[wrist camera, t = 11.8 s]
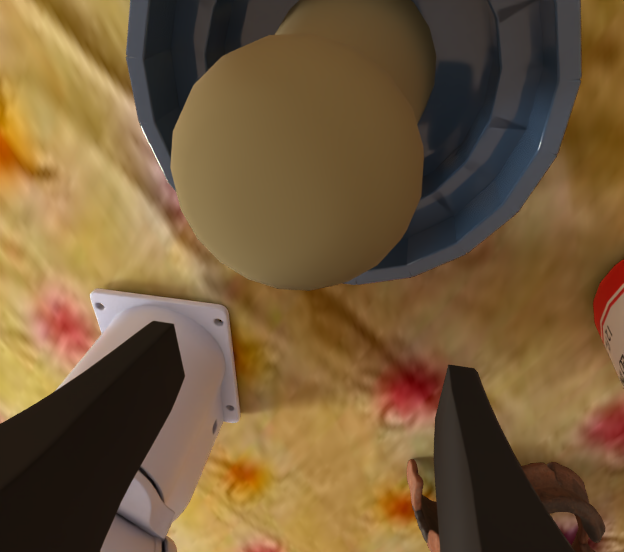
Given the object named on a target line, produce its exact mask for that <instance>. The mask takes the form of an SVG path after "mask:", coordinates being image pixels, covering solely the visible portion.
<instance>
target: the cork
mask: <svg viewBox="0 0 624 552" xmlns="http://www.w3.org/2000/svg"><path fill="white" fill-rule="evenodd" d="M435 68H436V52H435V48H434V44H433V40H432V36H431V32H430V28H429V26H428V24H427V23H426V21H425V20H424V18H423V16H422V15H421V13H420V12H419V10H418V8H417V7H416V5H415V4H414V2H412V1H411V0H299V1H298V2H297V3H296V4H295V5H294V6H293V7H292V8H291V9H290V10H289V11H288V13H287V15H286V16H285V18H284V20H283V21H282V23H281V25H280V26H279V28H278V30H277V31H276V33H275V35H268V36H266V37H264V38H261V39H259V40H257V41H254V42H252V43H250V44H248V45H245V46H243V47H241V48H239V49H236V50H234V51H232V52H230V53H228V54H226V55H224V56H222V57H221V58H220V59H219V60H218V61H217V62H216V63H215V64H214V65H213V66H212V67H211V68H210V69H209V70H208V71H207V72H206V73H205V74H204V75H203V76H202V77H201V78H200V79H199V80H198V81H197V82H196V83H195V84H194V85H193V87H192V89H191V92H190V94H189V96H188V98H187V100H186V103H185V105H184V107H183V109H182V112H181V114H180V116H179V119H178V121H177V123H176V125H175V128H174V130H173V137H172V151H171V166H170V168H171V172H172V176H173V180H174V184H175V188H176V192H177V196H178V201H179V204H180V208H181V211H182V213H183V214H184V216H185V218H186V220H187V221H188V223H189V225H190V227H191V228H192V230H193V232H194V233H195V235H196V237H197V239H198V240H199V241H200V242H201V243H202V244H203V245H204V246H205V247H206V248H207V249H208V250H209V251H210V252H211V253H212V254H213V255H214V256H215V257H216V258H217V259H218V260H219V261H220V262H221V263H222V264H224V265H226V266H227V267H229V268H231V269H232V270H234V271H236V272H237V273H239V274H240V275H242V276H244V277H245V278H247V279H249V280H252V281H255V282H258V283H262V284H265V285H268V286H271V287H274V288H277V289H290V290H307V291H310V290H314V289H319V288H324V287H328V286H333V285H338V284H341V283H345V282H348V281H350V280H352V279H353V278H355V277H357V276H359V275H361V274H362V273H364V272H366V271H368V270H370V269H372V268H373V267H375V266H377V265H378V264H379V263H380V262H381V261H382V260H383V259H384V257H385V256H386V255H387V254H388V253H389V252H390V251H391V250H392V249H393V248H394V247H395V246H396V244H397V243H398V242H399V241H400V240H401V238H402V237H403V235H404V234H405V232H406V231H407V228H408V226H409V224H410V222H411V219H412V217H413V215H414V212H415V210H416V208H417V205H418V203H419V201H420V198H421V193H422V178H423V162H424V150H423V144H422V140H421V137H420V133H419V129H418V126H417V124H418V122H419V120H420V118H421V116H422V114H423V112H424V110H425V107H426V105H427V102H428V100H429V97H430V94H431V92H432V89H433V87H434V82H435Z"/></svg>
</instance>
